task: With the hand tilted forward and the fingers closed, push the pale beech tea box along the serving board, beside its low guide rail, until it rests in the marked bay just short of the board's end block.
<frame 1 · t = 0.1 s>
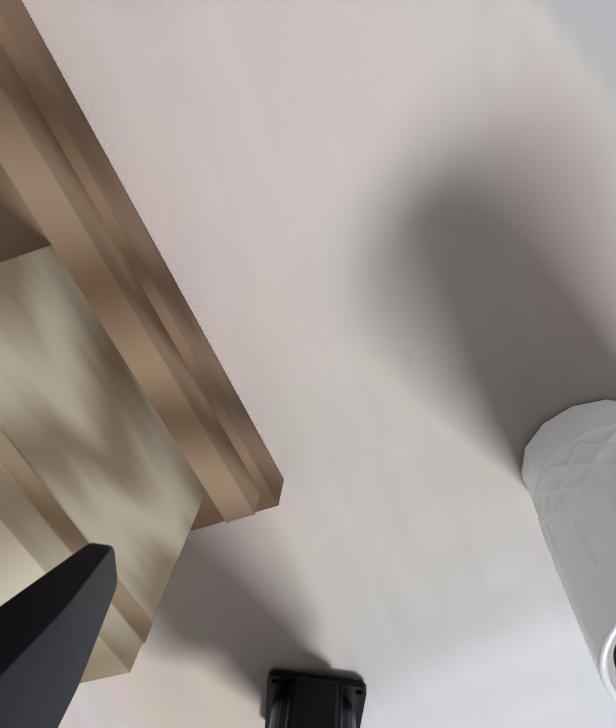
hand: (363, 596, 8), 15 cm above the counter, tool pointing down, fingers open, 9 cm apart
tea box: (83, 401, 22), point 2 cm above the counter, touching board
white cup: (590, 456, 24), on the counter
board: (50, 301, 23), on the counter
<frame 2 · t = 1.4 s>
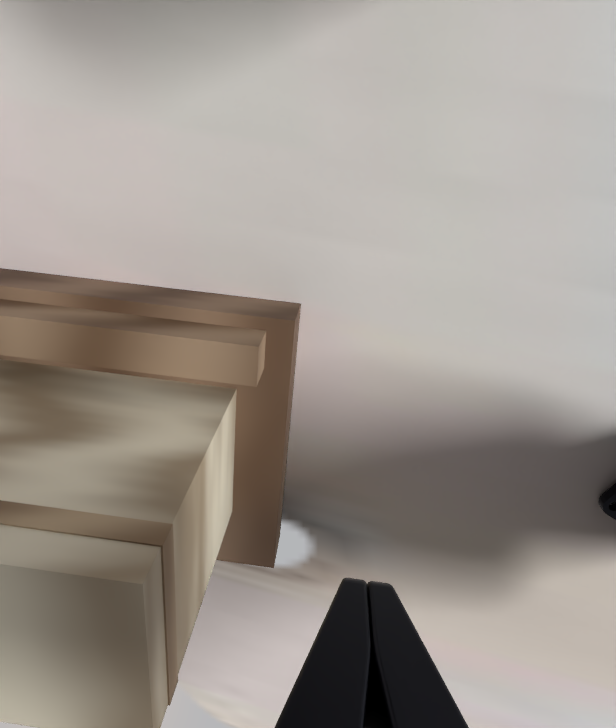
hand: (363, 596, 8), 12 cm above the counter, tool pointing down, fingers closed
tea box: (78, 433, 20), point 2 cm above the counter, touching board
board: (4, 396, 22), on the counter
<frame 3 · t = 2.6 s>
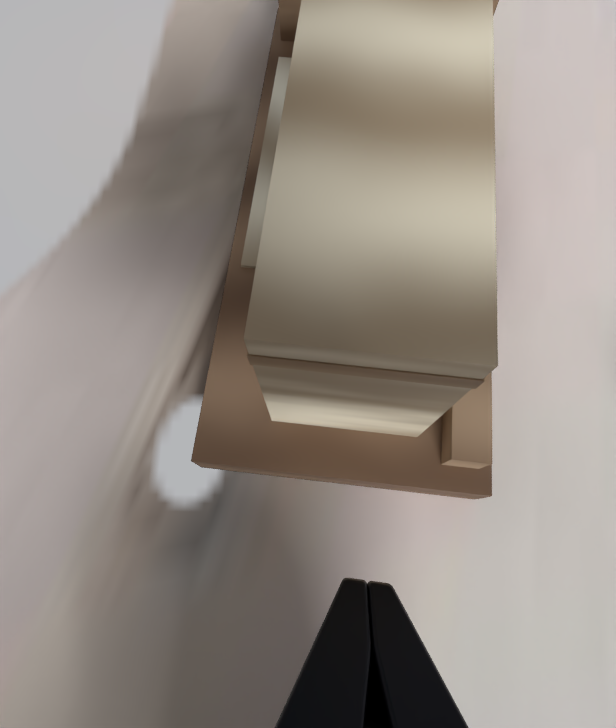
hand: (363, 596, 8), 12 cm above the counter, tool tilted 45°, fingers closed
tea box: (357, 288, 22), point 2 cm above the counter, touching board
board: (360, 230, 25), on the counter
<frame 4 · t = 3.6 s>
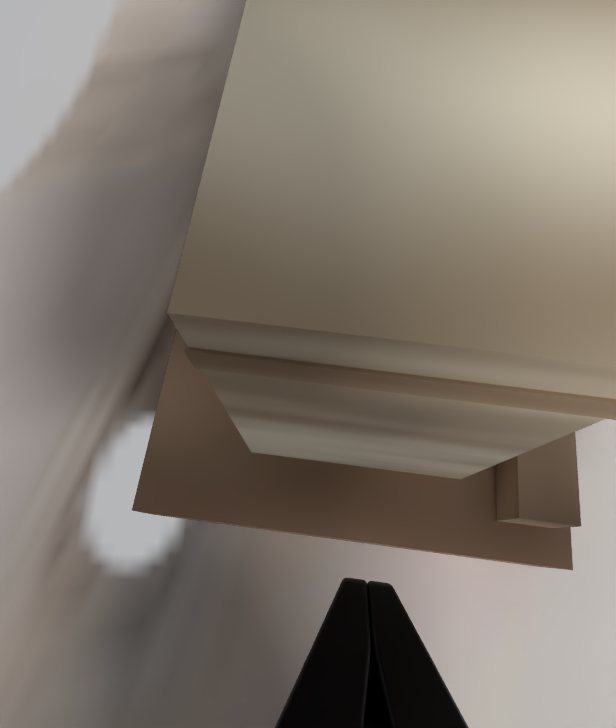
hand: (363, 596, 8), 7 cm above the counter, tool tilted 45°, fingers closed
tea box: (373, 269, 16), point 2 cm above the counter, touching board
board: (375, 198, 20), on the counter
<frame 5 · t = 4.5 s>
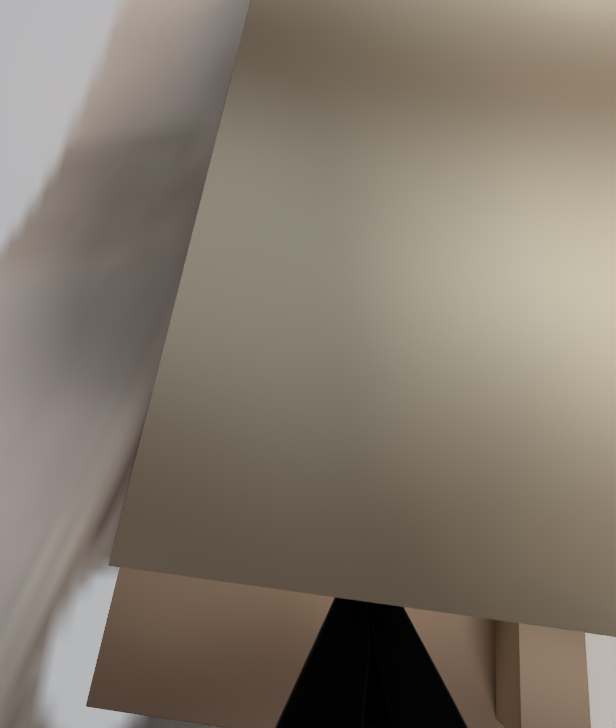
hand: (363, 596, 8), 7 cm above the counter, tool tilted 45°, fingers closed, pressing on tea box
tea box: (365, 347, 15), point 2 cm above the counter, touching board, gripper
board: (365, 304, 18), on the counter
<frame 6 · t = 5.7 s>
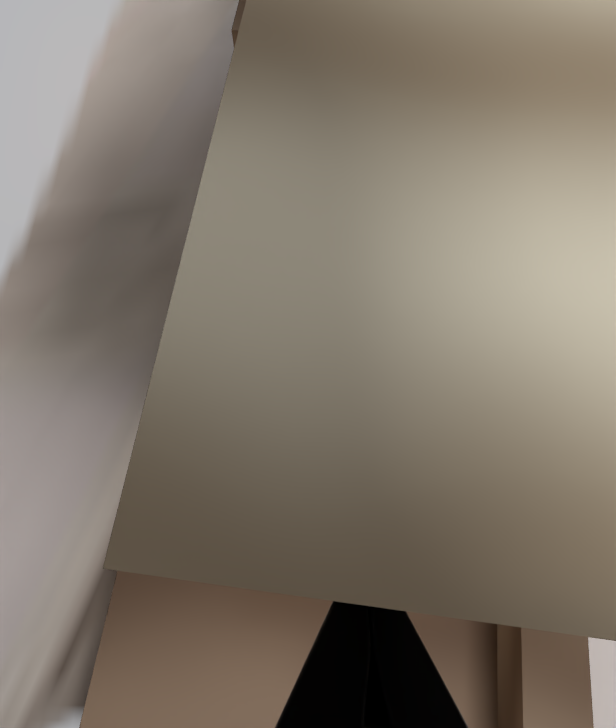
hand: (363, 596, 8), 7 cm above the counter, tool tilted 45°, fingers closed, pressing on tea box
tea box: (366, 343, 15), point 2 cm above the counter, touching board, gripper
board: (356, 403, 17), on the counter
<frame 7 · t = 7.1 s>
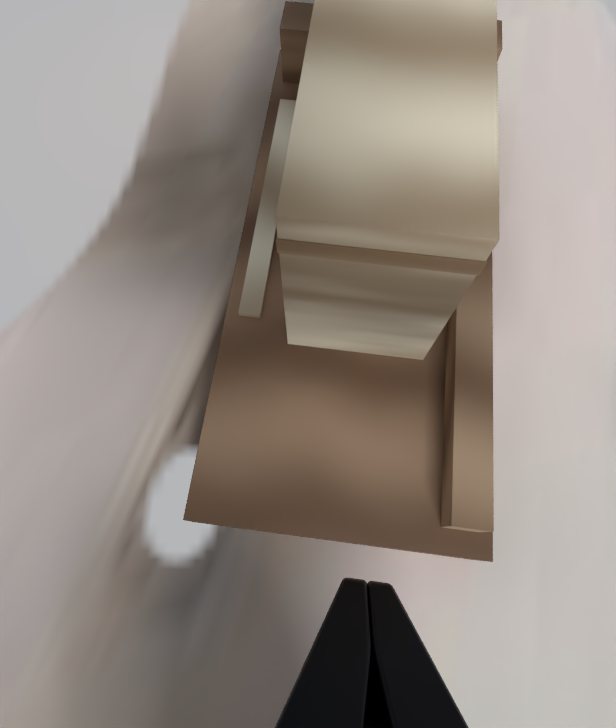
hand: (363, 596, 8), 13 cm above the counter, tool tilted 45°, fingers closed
tea box: (367, 229, 24), point 2 cm above the counter, touching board
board: (360, 275, 25), on the counter
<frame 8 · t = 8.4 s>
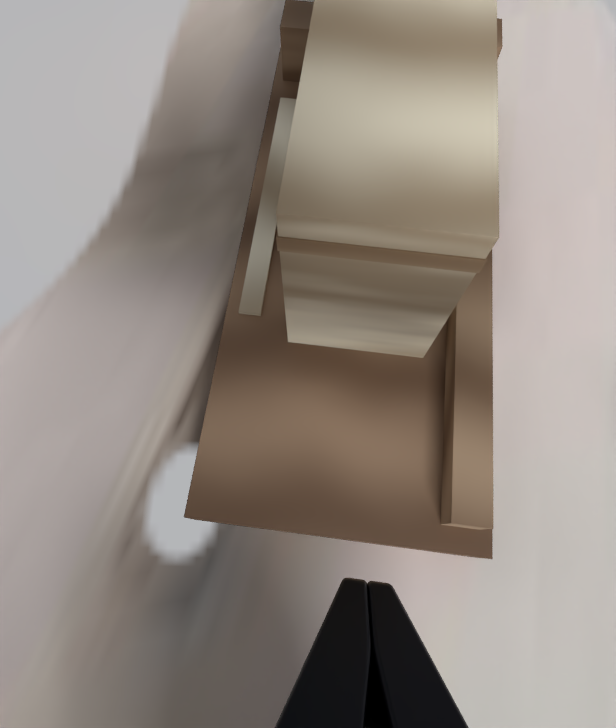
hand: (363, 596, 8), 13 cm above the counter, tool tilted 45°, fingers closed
tea box: (367, 227, 24), point 2 cm above the counter, touching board
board: (360, 273, 25), on the counter
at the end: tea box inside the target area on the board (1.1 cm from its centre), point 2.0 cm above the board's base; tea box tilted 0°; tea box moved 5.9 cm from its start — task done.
